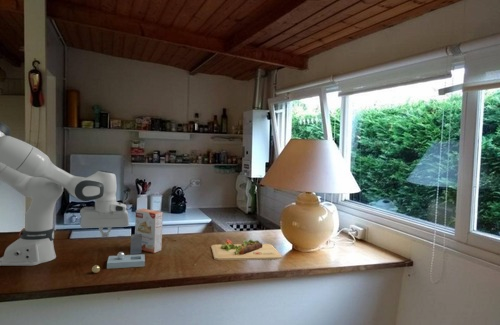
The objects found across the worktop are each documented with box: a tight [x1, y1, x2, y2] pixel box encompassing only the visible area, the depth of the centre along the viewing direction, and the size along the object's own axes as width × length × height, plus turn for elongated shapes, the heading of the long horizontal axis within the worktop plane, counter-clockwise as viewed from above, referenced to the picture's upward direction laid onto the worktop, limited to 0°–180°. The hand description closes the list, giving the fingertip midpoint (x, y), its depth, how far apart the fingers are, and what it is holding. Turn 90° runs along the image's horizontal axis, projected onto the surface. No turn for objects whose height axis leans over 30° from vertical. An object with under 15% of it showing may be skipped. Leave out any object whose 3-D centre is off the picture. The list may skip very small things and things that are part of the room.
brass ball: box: [91, 264, 101, 274], centre depth 145 cm, size 3×3×3 cm
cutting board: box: [210, 238, 283, 261], centre depth 183 cm, size 35×23×8 cm
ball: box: [116, 251, 126, 259], centre depth 157 cm, size 3×3×3 cm
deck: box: [106, 253, 146, 270], centre depth 158 cm, size 16×10×2 cm, turn 108°
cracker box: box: [134, 208, 164, 254], centre depth 179 cm, size 14×6×21 cm, turn 62°
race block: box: [129, 233, 142, 255], centre depth 167 cm, size 5×6×8 cm
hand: (105, 236), depth 154 cm, fingers closed
